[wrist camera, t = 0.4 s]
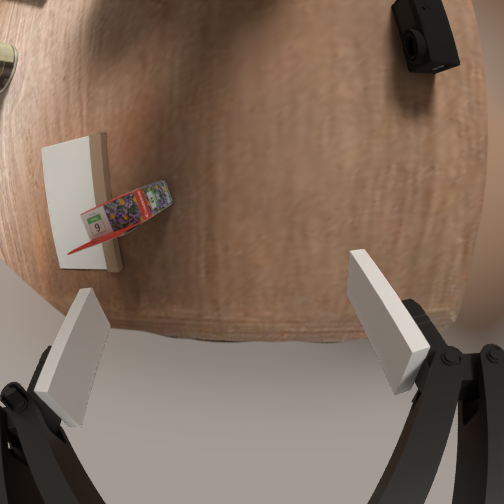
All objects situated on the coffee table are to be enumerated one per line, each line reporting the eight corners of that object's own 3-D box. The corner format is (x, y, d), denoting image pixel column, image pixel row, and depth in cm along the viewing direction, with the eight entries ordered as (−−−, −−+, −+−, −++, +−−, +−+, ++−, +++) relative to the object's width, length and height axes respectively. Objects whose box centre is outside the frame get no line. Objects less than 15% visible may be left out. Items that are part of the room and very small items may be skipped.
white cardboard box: (117, 196, 40) (52, 224, 26) (166, 177, 38) (110, 198, 25) (126, 220, 41) (65, 258, 27) (175, 203, 40) (124, 236, 26)
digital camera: (382, 4, 28) (399, -17, 21) (417, 7, 27) (437, -10, 20) (400, 72, 31) (422, 60, 24) (435, 73, 30) (461, 64, 24)
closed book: (42, 148, 38) (36, 148, 37) (106, 132, 37) (100, 132, 35) (61, 267, 45) (56, 270, 43) (123, 268, 44) (118, 272, 42)
